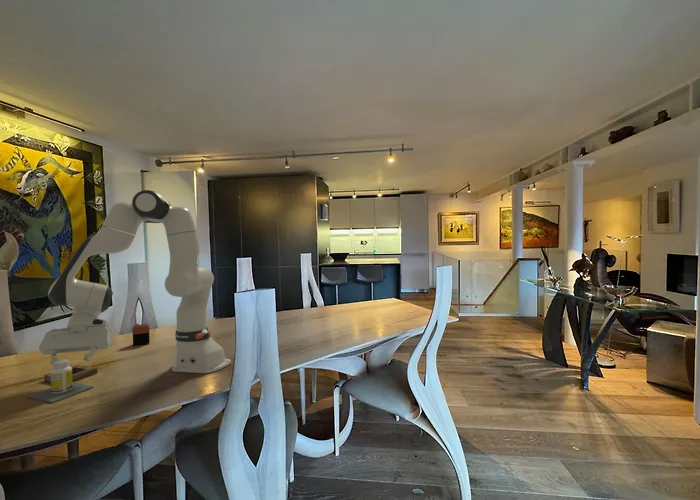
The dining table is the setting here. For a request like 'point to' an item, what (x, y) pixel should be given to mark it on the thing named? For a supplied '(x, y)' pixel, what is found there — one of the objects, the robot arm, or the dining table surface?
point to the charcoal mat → (52, 398)
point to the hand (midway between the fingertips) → (70, 361)
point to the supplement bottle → (61, 377)
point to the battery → (141, 334)
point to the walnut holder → (77, 372)
